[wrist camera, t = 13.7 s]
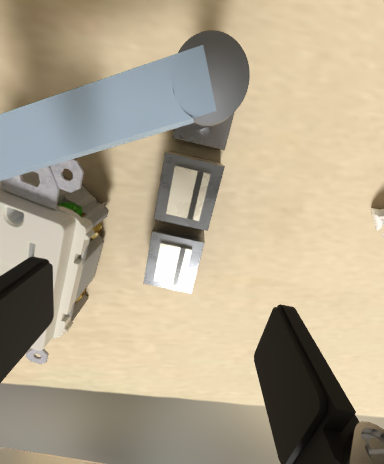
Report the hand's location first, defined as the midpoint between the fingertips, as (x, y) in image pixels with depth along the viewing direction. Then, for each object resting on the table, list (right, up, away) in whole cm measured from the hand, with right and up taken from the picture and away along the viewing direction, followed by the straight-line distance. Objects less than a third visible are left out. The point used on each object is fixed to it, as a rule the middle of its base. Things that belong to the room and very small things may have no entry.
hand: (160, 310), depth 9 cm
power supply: (+1, +9, +19) cm, 21 cm away
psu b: (-1, +1, +22) cm, 22 cm away
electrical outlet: (-17, +2, +22) cm, 28 cm away
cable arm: (-6, +10, +6) cm, 13 cm away
